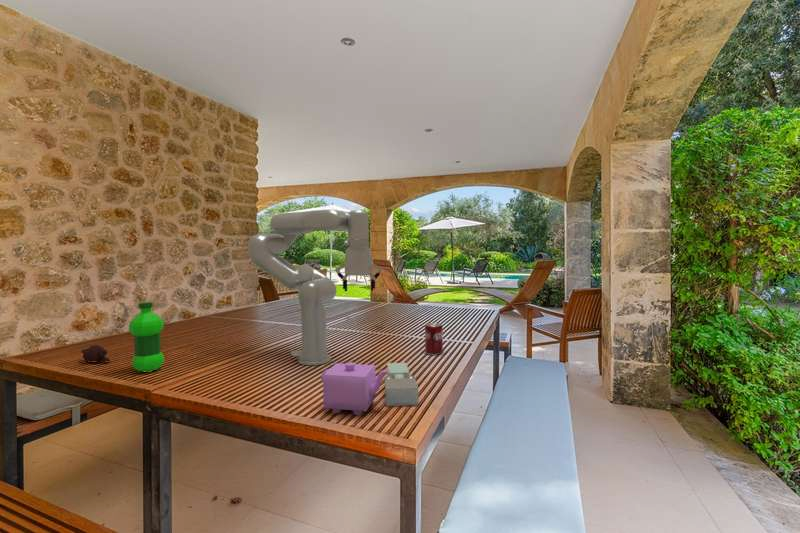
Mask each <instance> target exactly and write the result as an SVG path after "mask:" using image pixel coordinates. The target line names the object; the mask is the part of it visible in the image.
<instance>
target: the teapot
mask: <svg viewBox="0 0 800 533" xmlns="http://www.w3.org/2000/svg"><path fill="white" fill-rule="evenodd" d="M388 372H390V370H387V369H385V370H384V369H383V370H381V371H379V373H378V374H377V376H376V364H358V363H356V362H354V361H353V362H351V361H350V362H346V363H337V362H336V363H335V364H333V365H332V367H330V368H327V369H325V370H324V371H323V372H322V373H321V376H320V378H321V382H322V388H323V389H322V390H323V393H322V394H323V395H322V396H323V409H328V410H329V409H331V410H332V411H331V413H333V414H340V413H341V412H342V411H343V410H344V411H352V413H353V414H352V415H354V416H360V415H362V414H363V412H367V411H368V409H369V408H370V407H371V404H373V401H374V400H375V398H376V397H377V392H379V390H380V388H381V385H382V382H383V378H384V377H385V376H386V375H387V373H388Z"/></svg>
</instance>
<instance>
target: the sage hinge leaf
mask: <svg viewBox="0 0 800 533" xmlns="http://www.w3.org/2000/svg"><path fill="white" fill-rule="evenodd" d="M386 366H387V368H386V370H390V372H388V373H386V376H392V379H399V378H407V375H410V371H409V366H408V364H407V362H388V363H387V364H386Z"/></svg>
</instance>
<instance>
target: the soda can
mask: <svg viewBox="0 0 800 533" xmlns="http://www.w3.org/2000/svg"><path fill="white" fill-rule="evenodd" d="M443 328H444V327H443V324H442V323H439V322H429V323H426V324H425V325H424V353H425V354H427V355H428V354H430V355H429V356H439V355H438V354H440V355H441V353H442V354H443V352H444V351H443V349H444V348H443V347H444V345H443V344H444V343H443V341H444V340H443V339H444V338H443V334H444V333H443V332H444V331H443Z"/></svg>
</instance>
